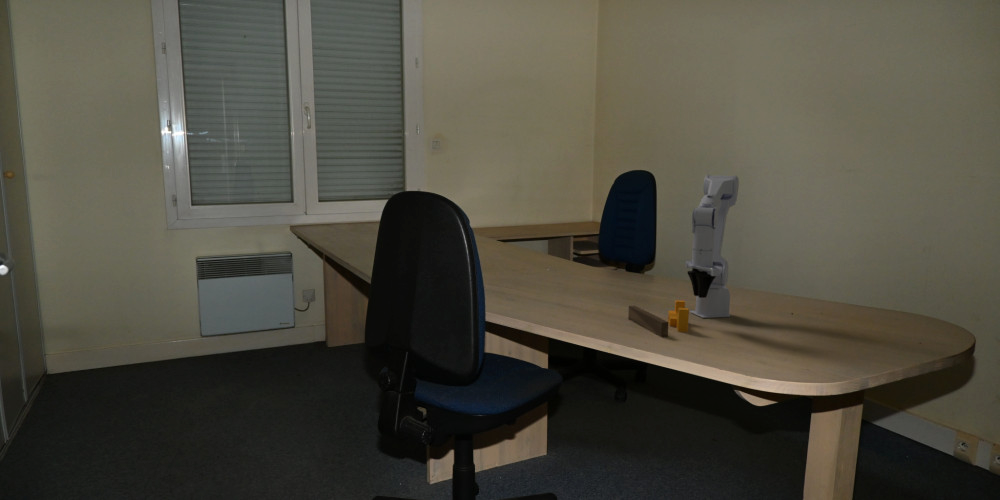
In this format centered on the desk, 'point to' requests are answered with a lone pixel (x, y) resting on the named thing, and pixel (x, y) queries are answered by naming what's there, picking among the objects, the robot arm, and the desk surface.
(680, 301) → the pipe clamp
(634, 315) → the rail
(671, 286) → the desk surface
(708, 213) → the robot arm
